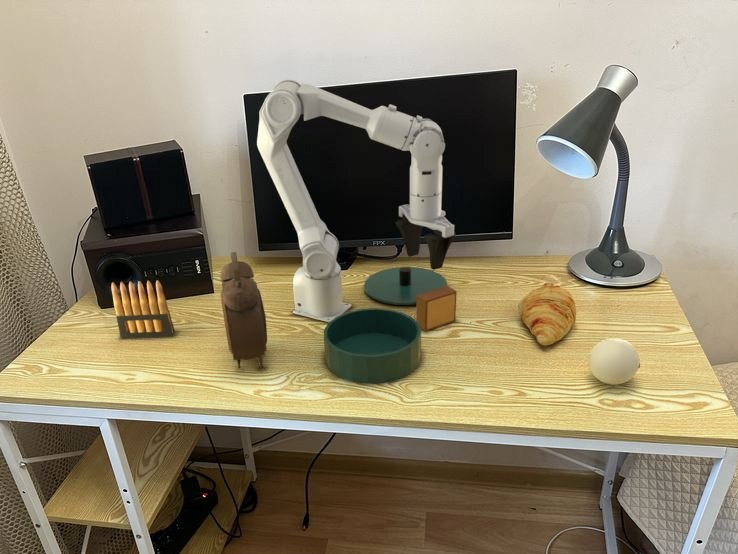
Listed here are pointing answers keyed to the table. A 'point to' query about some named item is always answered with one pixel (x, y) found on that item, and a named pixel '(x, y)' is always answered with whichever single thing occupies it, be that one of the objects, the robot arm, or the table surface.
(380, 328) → the pot
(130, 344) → the table surface
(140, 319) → the ammunition clip
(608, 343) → the cream white ovoid
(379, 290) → the lid
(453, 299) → the tall brown block
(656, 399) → the table surface
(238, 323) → the alarm clock
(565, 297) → the croissant
